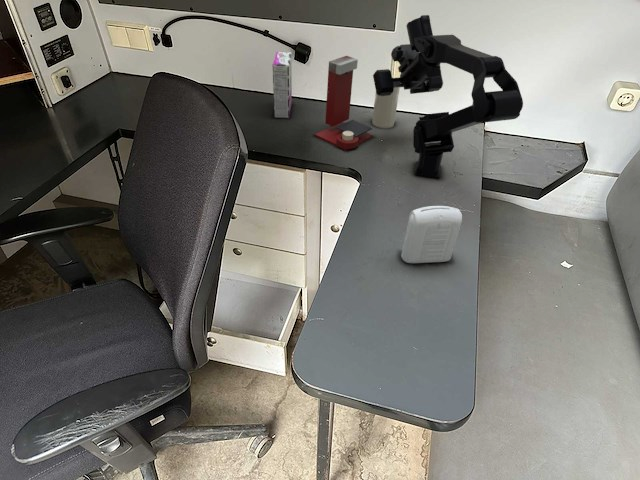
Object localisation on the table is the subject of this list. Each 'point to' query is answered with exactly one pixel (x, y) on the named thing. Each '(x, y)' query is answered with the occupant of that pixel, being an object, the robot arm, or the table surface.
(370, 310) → the table surface
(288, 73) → the candy bar box
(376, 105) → the tumbler
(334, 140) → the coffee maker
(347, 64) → the coffee maker tower
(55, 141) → the table surface
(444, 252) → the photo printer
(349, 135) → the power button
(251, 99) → the table surface
